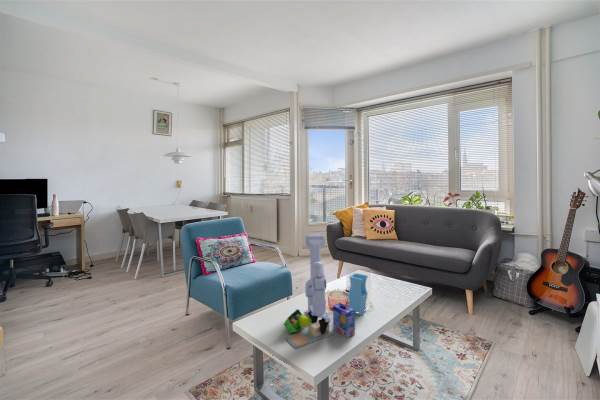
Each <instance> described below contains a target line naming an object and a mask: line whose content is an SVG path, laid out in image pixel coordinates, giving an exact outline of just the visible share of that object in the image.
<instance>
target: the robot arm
mask: <svg viewBox="0 0 600 400" xmlns="http://www.w3.org/2000/svg"><path fill="white" fill-rule="evenodd" d="M325 241H326V239H325V235H324V233H322V234H321V233H318V234H316V233H315V234H314V233H313V234H308V233H307V234H305V248H306V249H307V250H309V253H310V254H309V255H310V256H309V258H310V259H309V261H310V262H309V263H310V271H309V272H310V279H308V280H307V281H306V282H305V287H304V288H305V290H304V291H305V292H304V293H305V294H304V295H305V297H306V298H307V310H304V313H306V314H307V315H308V317H309V318H311V320H312V321H311V323H310V324H312V323H315V322H319V324H320V331H321V334H324V333H325V332H326V328H327V326H328V324H329V325H330V322H331V317H330V316H329V315H328V313H327V310H326V309H327V307H326V303H327V301H326V300H327V299H326V290H327V280H326V279H327V278H326V275H325V268H324V264H323V263H322V261H321V260H322V258H321V257H322V255H321V253H322V252H321V251H322V249H323V248H324V246H325V243H326V242H325ZM318 318H321V319H318Z"/></svg>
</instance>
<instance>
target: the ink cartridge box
mask: <svg viewBox="0 0 600 400" xmlns="http://www.w3.org/2000/svg"><path fill="white" fill-rule="evenodd" d="M332 308H333V309H332V310H333V311H332V315H333V317H332V326H333V327H332V328H333V331H336V332H337V333H339V334H341V335H342V336H344V337H346V338H349V337H351V336H353V335H356V325H355V324H356V319H355V318H356V316H355V315H356V314H355V310H354V309H352V308H350V307H349V305H348V306H347V305H346V304H344V303H341V302H338V303H337V304H333V305H332Z"/></svg>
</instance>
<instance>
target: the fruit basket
mask: <svg viewBox="0 0 600 400" xmlns="http://www.w3.org/2000/svg"><path fill="white" fill-rule="evenodd" d="M311 321H312V320H311V318H310V317H309V316H307V315H305V314H302V312H301V311H300V309H295V311H293V312H292V313H291V314H290V315H289V316H288V317H287V319H286V320H284V323H283V326H284V327H285V329H286V330H287V333H289V334H292V333H296V332H297V333H298V331H300V329H302V328H306V327H308V326H309V325H310V324H312V323H311Z"/></svg>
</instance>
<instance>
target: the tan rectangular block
mask: <svg viewBox="0 0 600 400" xmlns="http://www.w3.org/2000/svg"><path fill="white" fill-rule="evenodd" d="M307 328H308V329H307V330H308V333H309V334H310V335H312V336H313V337H316V336H319V335H321V331H320V324H319V322H318V321H317V322H315V323H310V325H309V326H307ZM329 331H330V323H329V324H328V326H327V328H326V332H325V333H327V332H329Z"/></svg>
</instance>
